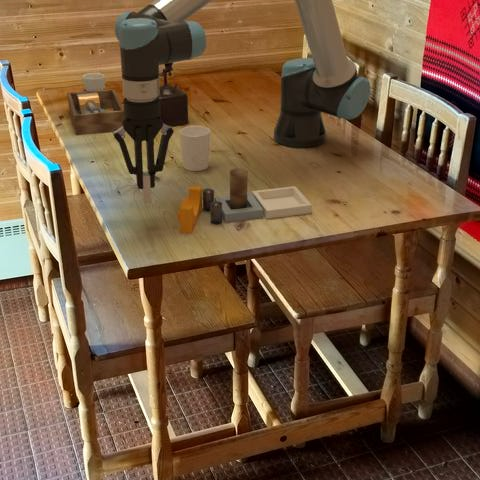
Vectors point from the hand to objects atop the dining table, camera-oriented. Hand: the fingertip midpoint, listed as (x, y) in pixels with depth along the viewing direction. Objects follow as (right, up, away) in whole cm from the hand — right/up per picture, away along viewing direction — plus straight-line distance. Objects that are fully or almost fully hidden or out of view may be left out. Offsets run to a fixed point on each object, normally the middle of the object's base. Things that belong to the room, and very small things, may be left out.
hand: (146, 201), depth 161 cm
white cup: (+9, +11, +33) cm, 36 cm away
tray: (+30, -1, +11) cm, 32 cm away
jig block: (+20, -2, +8) cm, 22 cm away
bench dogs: (+14, -3, +7) cm, 16 cm away
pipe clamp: (+9, -5, +5) cm, 11 cm away
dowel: (+20, -2, +8) cm, 22 cm away
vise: (-25, +28, +65) cm, 75 cm away
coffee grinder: (-3, +29, +67) cm, 73 cm away
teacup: (-30, +43, +92) cm, 106 cm away
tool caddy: (-24, +29, +65) cm, 74 cm away
